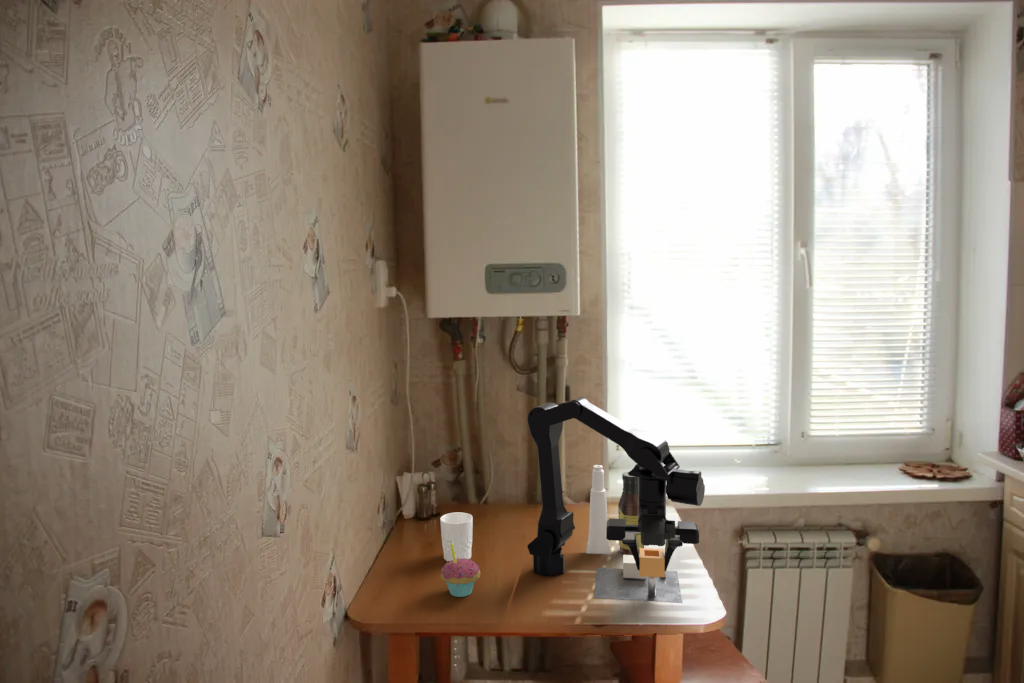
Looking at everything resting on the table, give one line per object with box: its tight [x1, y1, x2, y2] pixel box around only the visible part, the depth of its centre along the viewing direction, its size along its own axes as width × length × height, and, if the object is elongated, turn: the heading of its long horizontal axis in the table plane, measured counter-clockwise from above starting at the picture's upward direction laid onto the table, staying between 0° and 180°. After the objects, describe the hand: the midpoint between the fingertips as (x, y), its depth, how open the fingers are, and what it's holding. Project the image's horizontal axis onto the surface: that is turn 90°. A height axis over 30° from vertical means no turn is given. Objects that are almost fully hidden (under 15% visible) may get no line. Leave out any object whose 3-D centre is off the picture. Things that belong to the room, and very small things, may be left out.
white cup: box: [439, 511, 474, 562], centre depth 174 cm, size 8×8×10 cm
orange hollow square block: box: [639, 547, 665, 577], centre depth 149 cm, size 5×5×4 cm
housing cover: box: [622, 554, 646, 579], centre depth 159 cm, size 5×4×3 cm
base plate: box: [593, 567, 683, 604], centre depth 155 cm, size 18×15×6 cm
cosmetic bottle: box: [585, 464, 612, 555], centre depth 174 cm, size 6×6×22 cm
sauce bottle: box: [617, 471, 645, 555], centre depth 174 cm, size 6×6×20 cm
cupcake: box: [440, 540, 481, 598], centre depth 155 cm, size 9×8×12 cm
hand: (651, 570), depth 150 cm, fingers closed on orange hollow square block, 5 cm apart
